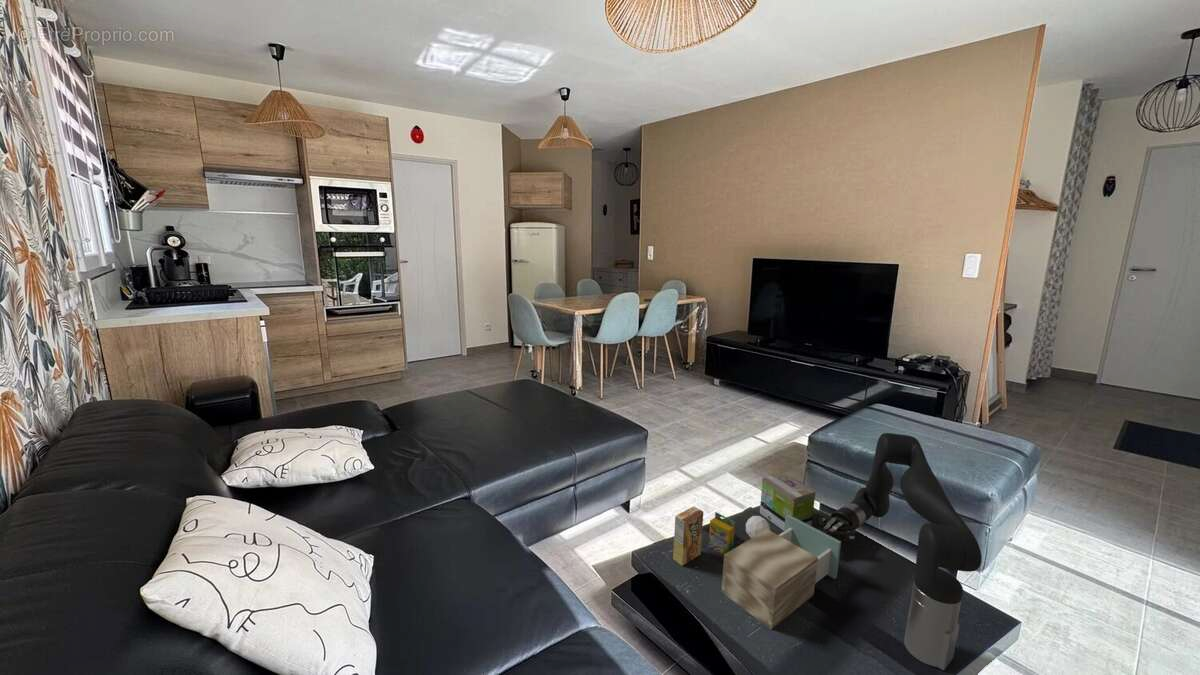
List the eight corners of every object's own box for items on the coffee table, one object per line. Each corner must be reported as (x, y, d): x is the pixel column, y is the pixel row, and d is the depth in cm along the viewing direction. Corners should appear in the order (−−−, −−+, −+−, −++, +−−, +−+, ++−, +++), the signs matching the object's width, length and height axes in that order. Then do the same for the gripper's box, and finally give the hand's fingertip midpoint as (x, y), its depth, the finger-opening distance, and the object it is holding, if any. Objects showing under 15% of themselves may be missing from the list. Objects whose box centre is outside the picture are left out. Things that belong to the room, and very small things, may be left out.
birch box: (813, 595, 132) (818, 557, 129) (771, 629, 120) (775, 588, 118) (764, 563, 144) (767, 528, 142) (721, 592, 133) (724, 554, 130)
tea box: (758, 513, 170) (761, 476, 167) (779, 507, 175) (782, 471, 172) (790, 537, 157) (794, 497, 154) (812, 530, 161) (816, 490, 158)
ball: (761, 543, 158) (777, 527, 157) (756, 548, 151) (773, 531, 150) (743, 525, 162) (759, 509, 160) (738, 529, 155) (754, 512, 154)
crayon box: (707, 547, 152) (709, 515, 149) (713, 543, 154) (715, 511, 151) (727, 558, 147) (730, 525, 144) (732, 554, 149) (735, 521, 146)
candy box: (691, 548, 151) (693, 505, 148) (701, 554, 148) (704, 511, 145) (672, 559, 146) (674, 515, 143) (682, 566, 143) (685, 521, 139)
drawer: (836, 577, 138) (841, 541, 135) (798, 608, 126) (802, 569, 124) (784, 547, 151) (787, 514, 149) (745, 572, 140) (748, 537, 137)
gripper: (830, 499, 161) (802, 516, 151) (870, 517, 151) (843, 537, 141) (827, 518, 163) (799, 537, 153) (867, 538, 152) (840, 559, 142)
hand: (820, 537), depth 147 cm, fingers closed
